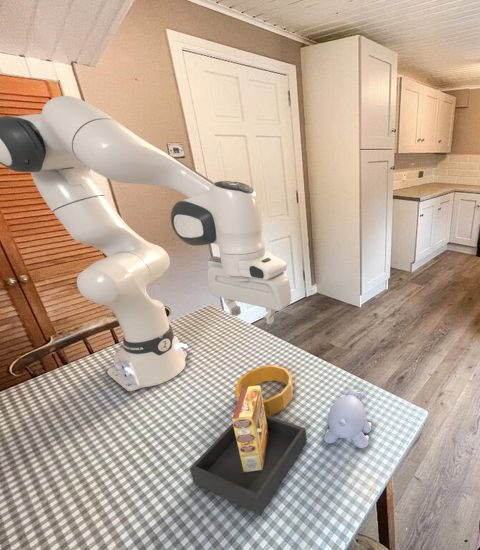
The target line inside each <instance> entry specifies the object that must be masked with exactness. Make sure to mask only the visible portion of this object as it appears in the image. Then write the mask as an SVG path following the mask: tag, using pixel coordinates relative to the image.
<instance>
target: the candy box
mask: <svg viewBox="0 0 480 550" xmlns="http://www.w3.org/2000/svg"><path fill="white" fill-rule="evenodd" d="M263 400H264V398H263V393H262V388H261V385H254V386H249V387H242V390H241V393H240V396H239V399H238V402H237V401H236V405H235V408H234V411H233V415H232V417H231V424H232V423H233V427H234V431H235V436H236V440H237V444H238V448H239V453H240V457H241V461H242V466H243V470H244V472H251V471H258V470H263V465H264V460H265V455H266V449H267V443H268V438H269V433H268V428H267V422H266V416H265V410H264V404H263Z"/></svg>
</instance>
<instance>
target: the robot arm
mask: <svg viewBox="0 0 480 550" xmlns="http://www.w3.org/2000/svg"><path fill="white" fill-rule="evenodd" d="M0 165H1V166H4V167H5V168H7V169H9V170H11V171H13V172H16V173H17V172H18V173H30V176H31V178H32V181H33V183H34V185H35V187H36V189H37V191H38V193H39V194H40V196H41V198H42V199H43V201H44V202H45V203H46V205H47V206H48V208H49V209H50V211H51V212H52V213H53V215H54V216H55V217H56V219H57V220H58V221H59V222H60V224H61V225H62V227H63V228H64V229H65V230H66V232H67V233H68V234H69V236H71V239H73V240H74V241H75V242H77V243H79V244H82V245H85V246H89V247H93V248H94V249H96V250H97V251H98V250H99V251H100V252H101V253H102V254H104V255H105V256H106V257H104V258H101V259H99V260H97V261H94V262H93V263H91V264H90V265H89V266H87V267H86V268H84V269H83V271H81V272H80V273H79V274H78V275H77V277H76V287H77V290H78V291H79V292H80V294H81V296H83V297H84V298H85V299H86V300H88V301H89V302H91V303H94V304H96V305H101V306H105V307H106V308H107V309H109V310H110V312H112V313H113V315H114V316H115V317H116V320H117V322H118V325H119V327H120V329H121V332H122V335H120V340H121V341H122V347H121V348H120V349H118V350H117V351H116V352H115V353H114V355H113V362H114V363H113V364H112V366H110V367H109V369H108V370H107V371H106V372H107V375H108V376H109V377H110V378H111V379H113V380H114V381H115V382H116V383H117V384H119V385H120V386H121V387H122V388H123V389H125V390H126V391H127V392H134V391H136V390H139V389H143V388H147V387H148V388H149V387H154V386H158V385H161V384H164V383H166V382H168V381H170V380H172V379H174V378H175V377H176V376H178V375H179V374H181V373H182V371H184V369H185V368H186V365H187V361H186V358H187V356H188V354H187V351H184V350H183V349H182V348H185V349H187V348H188V344H185V343H181V342H180V341H179V339H178V337H177V336H176V335H175V334H174V329H173V328H172V327H173V326H172V325H171V324H170V322H169V319H168V315H167V312H166V307H165V305H164V303H162V301H160V300H158V299H154V298H151V297H150V295H149V294H148V292H147V287H148V285H150V284H151V283H153V282H155V281H156V280H158V279H160V278H161V277H162V276H163V275H164V274H165V273H166V271H167V270H168V269H169V267H170V265H171V259H170V256H169V254H168V252H167V251H166V250H165V249H164V248H163V247H162V246H160V245H159V244H155V243H152V242H149V241H147V240H146V239H144V238H143V237H142V236H141V235H139V234H138V233H136V231H135V230H133V229H132V228H131V227H130V226H129V225H128V224H127V223H126V222H125V221H124V220H123V218H122V217H121V216H120V214H119V213H118V211H117V210H116V209H115V208H114V206H113V204H112V203H111V202H110V200H109V199H108V197H107V196H106V195H105V193H104V192H103V191H102V189H101V188H100V186H99V185H98V184H97V183H96V181H95V180H94V178H93V177H92V173H91V171H93V172H94V173H96V174H98V175H100V176H102V177H104V178H106V179H108V180H110V181H113V182H116V183H124V184H135V185H137V184H138V185H148V186H149V185H150V186H159V187H165V188H168V189H172V190H173V191H177V192H179V193H180V194H182V195H183V196H185V197H187V198H185V199H183V200H180V201H177V202H176V203H175V204H174V205H173V207H172V209H171V211H170V224H171V228H172V230H173V232H174V234H175V235H176V236H177V237H178V239H179V240H181V241H182V242H183V243H186V244H187V245H189V246H195V247H196V246H206V245H211V244H214V245H217V246H218V249H219V250H218V251H219V256H217V255H216V256H215V255H214V256H213V255H212V256H211V257H210V258H209V259H208V261H207V266H208V269H207V287H208V292H209V293H210V294H211V296H213V297H216V298H217V297H218V298H220V299H221V298H222V299H223V303H224V304H225V305H226V306H227V309H228V310H229V314H230V316H234V317H238V315H241V312H242V310H241V306H238V304H237V302H239V303H243V304H247V305H251V306H255V307H261V308H265V312H267V313H266V314H265V315H264V316H262V320H263V324H266V325H271V324H273V323H274V322H275V318H274V317H275V314H276V312H277V311H278V312H281V311H283V310H284V309H286V308H287V307H289V305H290V304H291V303H292V290H291V289H292V288H291V283H290V279H289V277H288V275H287V274H286V273H285V271H287V268H288V267H287V262H286V261H285V260H283V259H282V258H279V257H277V256H275V255H274V254H272V253H271V252H269V251H268V250H266V247H265V243H264V240H263V237H262V232H263V217H262V212H261V206H260V202H259V198H258V196H257V193H256V191H255V190H254V187H252V186H250V185H249V184H246V183H243V182H240V181H230V180H220V181H215V182H214V181H212V180H211V179H209V178H207V176H204V175H203V174H201V173H200V172H198V171H197V170H195V169H194V168H192V167H190V166H189V165H187V164H186V163H184V162H183V161H181V160H179V159H177V158H176V157H174V156H172V155H170V154H169V153H168V152H167V153H166V152H165V151H163V150H161V149H160V148H158V147H156V146H155V145H153V144H151V143H150V142H148V141H146V140H145V139H143V138H142V137H140V136H138V135H137V134H136V133H134V132H132V131H131V130H130V129H128V128H127V127H125V126H124V125H123V124H122V123H120V122H119V121H117V120H116V119H115V118H114V117H112V116H110V114H108V113H106V112H105V111H102V109H99V108H97V107H96V106H94V105H92V104H91V103H89V102H87V101H85V100H82V99H81V98H78V97H76V96H72V95H71V96H70V95H59V96H55V97H53V98H51V99H49V100H48V101H46V103H44V105H43V107H42V111H41V113H34V114H24V115H16V116H15V115H14V116H10V115H3V116H0Z"/></svg>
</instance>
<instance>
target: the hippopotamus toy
mask: <svg viewBox="0 0 480 550" xmlns="http://www.w3.org/2000/svg"><path fill="white" fill-rule="evenodd" d="M341 394H342V395H343V396H341V397H339V398H337V400H335V401H334V402H333V404H332V405H331V407H330V409H329V412H328V414H327V415H328V416H327V424H328V427H329V429H326V431H325V435H324V437H323V440H324V442H326V443H327V444H334V443H337V441H338V440H339V439H350V440H351V441H352V443H353V444H354V446H356V447H357V448H359V449H365V448H366V447H368V446H369V439H370V436H369V435H365V434H368V433H370V432H371V430H372V424H373V423H372V422H370V421H368V420H367V417H366V416H367V413H366V408H365V405H364V403H363V402H362V401H361V400H362V399H363V397H364V396H365V394H364V393H363V392H362V391H361V389H354V388H349V389H348V391H347V390H342V391H341Z"/></svg>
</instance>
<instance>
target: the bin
mask: <svg viewBox="0 0 480 550" xmlns="http://www.w3.org/2000/svg"><path fill="white" fill-rule="evenodd" d="M265 416H266V422H267V428H268V433H269V438H268V443H267V449H266V455H265V460H264V465H263V470H258V471H251V472H244V470H243V466H242V461H241V457H240V453H239V448H238V444H237V440H236V436H235V431H234V427H233V423H232V422H231V424H230V425H229V426H228V427H227V428H226V429H225V431H224V432H222V434H221V435H220V436H219V437H217V439H216V440H215V441H214V442H212V444H211V445H210V446H209V447H208V448H207V449H206V450H205V451H204V452H203V453H202V455H200V457H199V458H198V459H197V460H196V461H195V462H194V463H193V464H192V465H190V467H189V472H190V475H191V479H192V482H193V485H195V486H197V487H199V488H201V489H203V490H205V491H207V492H210V493H211V494H214V495H216V496H218V497H220V498H222V499H224V500H226V501H228V502H230V503H232V504H234V505H237V506H238V507H241V508H243V509H245V510H246V511H249V512H251V513H253V514H255V515H257V516H259V517H260V516H262V514H263V513H264V511H265V510H266V508H267V507H268V505H269V503H270V501H271V500H272V498H273V497H274V495H275V493H276V492H277V490H278V489H279V487H280V486H281V484H282V483H283V481H284V479H285V478H286V476H287V475H288V474H289V472H290V470H291V468H292V467H293V465H294V464H295V462H296V460H297V459H298V457H299V456H300V454H301V453H302V451H303V450H304V448H305V446H306V445H307V435H306V434H307V433H306V427H302V426H301V425H297V424H295V423H292V422H289V421H286V420H283V419H280V418H277V417H274V416H268V415H266V414H265Z"/></svg>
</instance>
